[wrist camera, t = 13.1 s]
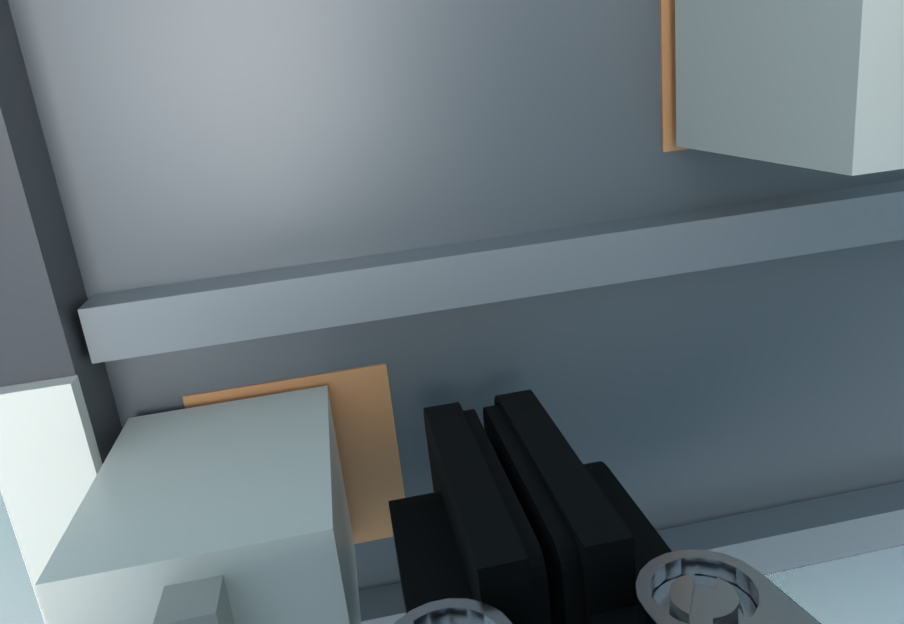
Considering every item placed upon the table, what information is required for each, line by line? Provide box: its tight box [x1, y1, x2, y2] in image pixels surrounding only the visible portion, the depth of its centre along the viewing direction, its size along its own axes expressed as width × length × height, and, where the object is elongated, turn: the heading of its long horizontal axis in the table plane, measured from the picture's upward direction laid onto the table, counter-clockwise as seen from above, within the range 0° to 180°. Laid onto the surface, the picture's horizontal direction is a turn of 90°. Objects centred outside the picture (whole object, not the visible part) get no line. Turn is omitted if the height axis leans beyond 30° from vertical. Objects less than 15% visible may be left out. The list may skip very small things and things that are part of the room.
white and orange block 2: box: [675, 0, 904, 176], centre depth 9 cm, size 3×3×5 cm
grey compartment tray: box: [0, 0, 904, 624], centre depth 11 cm, size 20×19×3 cm
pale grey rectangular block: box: [35, 386, 361, 624], centre depth 10 cm, size 3×3×5 cm
